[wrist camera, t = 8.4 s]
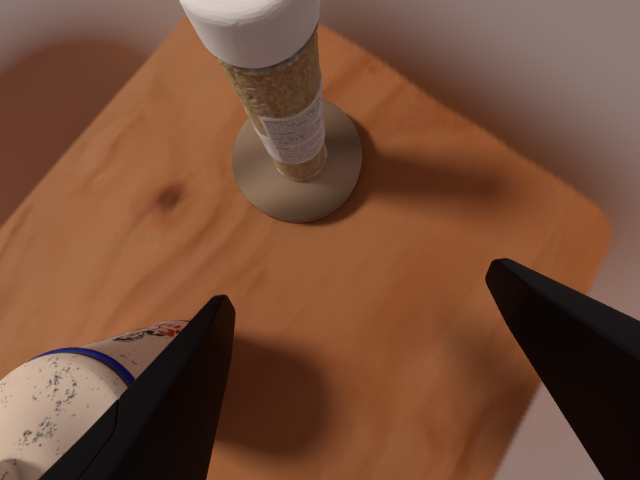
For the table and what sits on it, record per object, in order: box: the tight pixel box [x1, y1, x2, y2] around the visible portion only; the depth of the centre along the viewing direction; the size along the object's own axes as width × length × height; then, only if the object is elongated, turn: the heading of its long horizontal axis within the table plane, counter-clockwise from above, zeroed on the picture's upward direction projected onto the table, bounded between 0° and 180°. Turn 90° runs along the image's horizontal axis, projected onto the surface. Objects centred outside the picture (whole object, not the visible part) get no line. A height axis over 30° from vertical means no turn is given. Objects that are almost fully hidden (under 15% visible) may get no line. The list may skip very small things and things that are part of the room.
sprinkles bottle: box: [179, 0, 327, 181], centre depth 14 cm, size 5×5×13 cm
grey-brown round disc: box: [232, 99, 362, 223], centre depth 21 cm, size 11×11×2 cm
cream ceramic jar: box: [0, 320, 189, 480], centre depth 15 cm, size 12×9×12 cm
